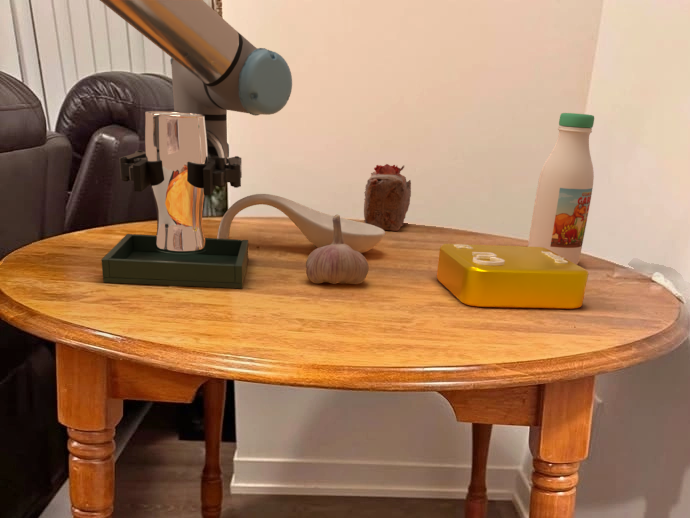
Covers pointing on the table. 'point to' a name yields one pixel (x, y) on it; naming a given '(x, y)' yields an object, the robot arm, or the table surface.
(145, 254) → the serving tray
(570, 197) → the milk bottle
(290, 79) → the robot arm
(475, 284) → the element tile
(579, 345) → the table surface
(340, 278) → the garlic bulb
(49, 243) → the table surface
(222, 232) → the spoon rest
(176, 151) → the beer glass
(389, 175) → the food item
